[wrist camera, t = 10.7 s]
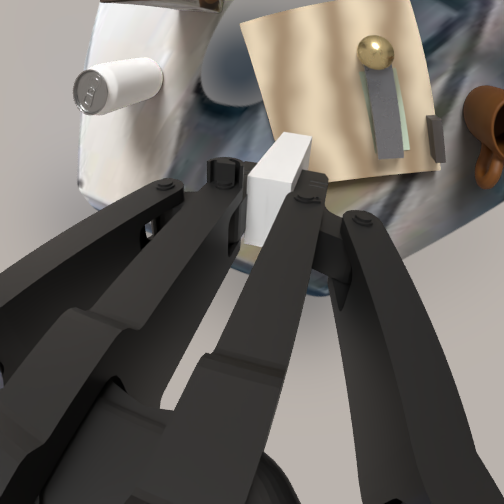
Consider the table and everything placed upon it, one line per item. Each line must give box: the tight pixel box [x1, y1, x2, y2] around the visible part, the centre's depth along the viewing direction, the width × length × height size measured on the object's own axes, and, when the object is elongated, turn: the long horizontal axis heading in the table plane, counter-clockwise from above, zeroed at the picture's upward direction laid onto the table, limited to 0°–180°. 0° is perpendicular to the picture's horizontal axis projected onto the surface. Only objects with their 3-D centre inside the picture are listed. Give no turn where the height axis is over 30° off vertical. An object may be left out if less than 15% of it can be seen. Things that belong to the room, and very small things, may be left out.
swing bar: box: [357, 35, 404, 160], centre depth 30 cm, size 14×4×3 cm, turn 14°
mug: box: [463, 86, 504, 189], centre depth 27 cm, size 12×8×9 cm, turn 165°
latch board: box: [240, 0, 446, 182], centre depth 32 cm, size 20×22×5 cm
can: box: [73, 58, 163, 115], centre depth 35 cm, size 6×6×12 cm
